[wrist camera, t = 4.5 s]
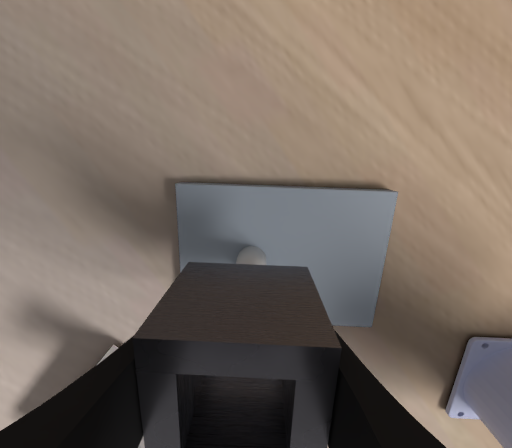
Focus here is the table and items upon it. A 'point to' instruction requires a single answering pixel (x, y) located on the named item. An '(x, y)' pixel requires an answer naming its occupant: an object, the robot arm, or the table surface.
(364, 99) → the table surface
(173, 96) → the table surface
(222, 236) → the plate with peg
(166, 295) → the dark grey hollow block
